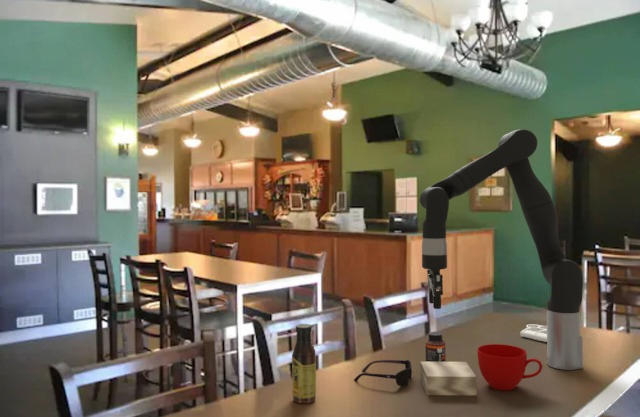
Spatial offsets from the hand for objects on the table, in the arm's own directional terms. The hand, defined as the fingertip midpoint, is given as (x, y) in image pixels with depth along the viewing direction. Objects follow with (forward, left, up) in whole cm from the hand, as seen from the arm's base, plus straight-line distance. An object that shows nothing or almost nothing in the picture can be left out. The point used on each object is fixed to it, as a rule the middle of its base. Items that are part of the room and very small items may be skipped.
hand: (434, 305), depth 159 cm
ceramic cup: (-18, +14, -20) cm, 30 cm away
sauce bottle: (+38, +25, -20) cm, 50 cm away
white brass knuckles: (-47, -39, -20) cm, 64 cm away
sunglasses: (+16, +8, -20) cm, 27 cm away
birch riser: (-1, +14, -20) cm, 24 cm away
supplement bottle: (0, 0, -20) cm, 20 cm away
